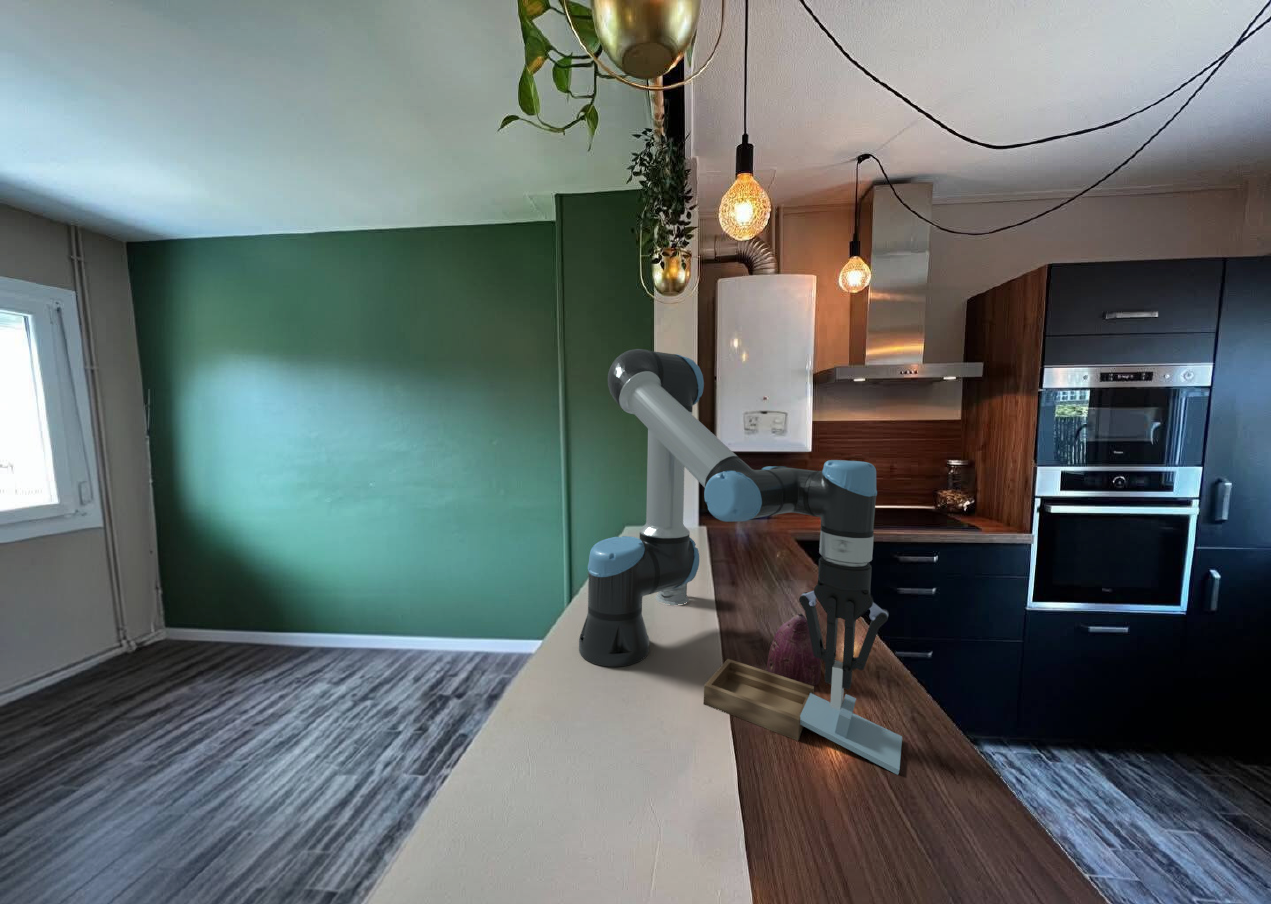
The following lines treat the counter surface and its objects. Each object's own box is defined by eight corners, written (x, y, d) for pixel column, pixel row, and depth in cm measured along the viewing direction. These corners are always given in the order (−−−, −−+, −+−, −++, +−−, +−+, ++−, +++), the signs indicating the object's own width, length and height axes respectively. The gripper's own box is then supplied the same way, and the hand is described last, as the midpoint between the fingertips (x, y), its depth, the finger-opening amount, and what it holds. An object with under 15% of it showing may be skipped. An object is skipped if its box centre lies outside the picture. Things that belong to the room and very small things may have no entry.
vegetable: (822, 705, 84) (842, 642, 79) (765, 690, 86) (782, 627, 81) (814, 664, 94) (832, 605, 89) (763, 652, 96) (778, 593, 91)
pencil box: (703, 704, 78) (704, 685, 78) (727, 675, 88) (727, 658, 87) (798, 741, 70) (799, 720, 70) (813, 705, 79) (814, 686, 79)
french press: (651, 592, 130) (654, 507, 129) (691, 592, 131) (694, 507, 130) (657, 606, 120) (660, 514, 119) (699, 605, 122) (702, 514, 120)
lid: (797, 723, 71) (802, 700, 70) (809, 697, 78) (814, 676, 77) (898, 775, 63) (904, 750, 63) (901, 741, 70) (907, 718, 70)
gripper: (796, 557, 71) (788, 701, 72) (890, 574, 63) (880, 733, 65) (806, 547, 77) (800, 680, 78) (894, 561, 70) (884, 707, 71)
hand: (836, 704), depth 72 cm, fingers closed
